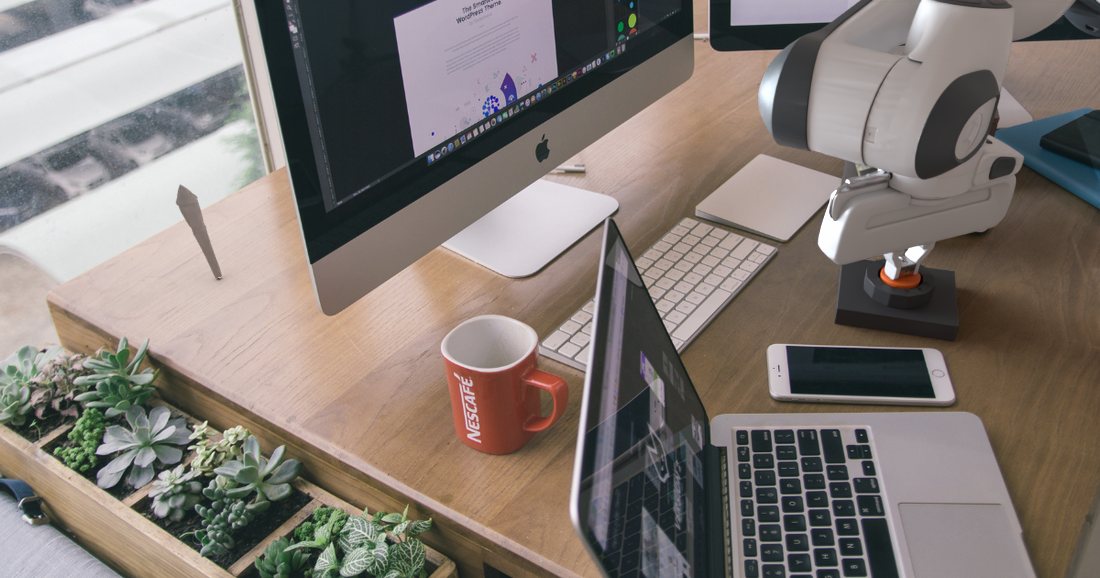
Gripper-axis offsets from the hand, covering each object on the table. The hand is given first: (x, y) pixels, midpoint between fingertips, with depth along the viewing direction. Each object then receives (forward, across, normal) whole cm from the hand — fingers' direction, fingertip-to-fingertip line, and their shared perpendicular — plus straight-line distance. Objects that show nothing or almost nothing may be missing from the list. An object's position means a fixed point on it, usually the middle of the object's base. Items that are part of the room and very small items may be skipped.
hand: (900, 274), depth 84 cm
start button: (+2, 0, 0) cm, 2 cm away
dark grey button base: (+4, 0, 0) cm, 4 cm away
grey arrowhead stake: (+5, -75, +36) cm, 83 cm away
